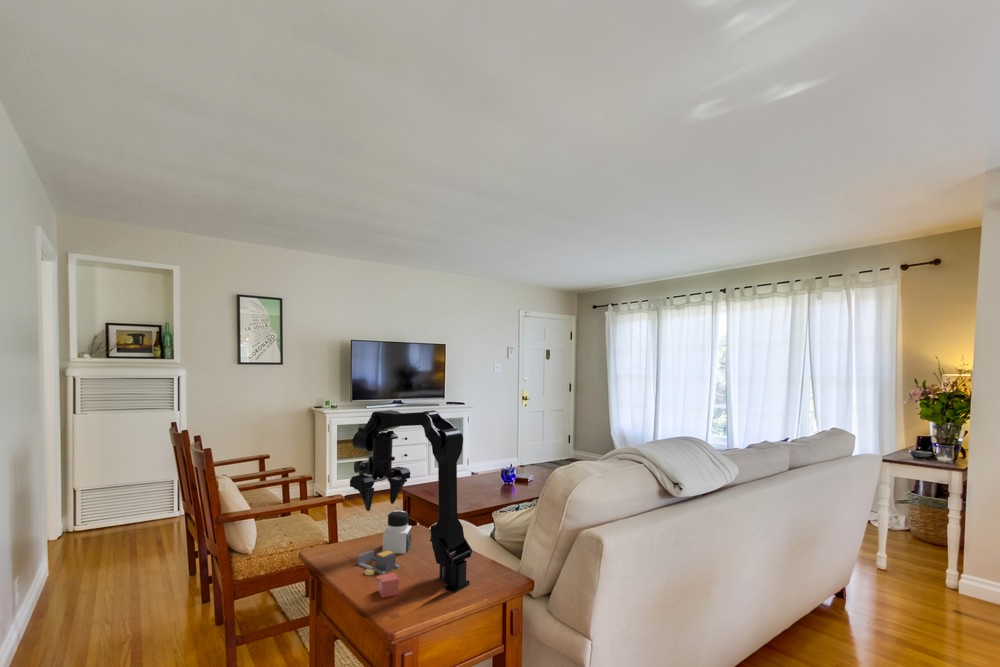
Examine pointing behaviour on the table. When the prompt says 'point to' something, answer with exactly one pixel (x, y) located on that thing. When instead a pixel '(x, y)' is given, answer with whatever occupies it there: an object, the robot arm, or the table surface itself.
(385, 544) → the medicine bottle
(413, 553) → the table surface
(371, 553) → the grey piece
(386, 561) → the dark grey cube
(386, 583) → the pink block
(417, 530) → the table surface
